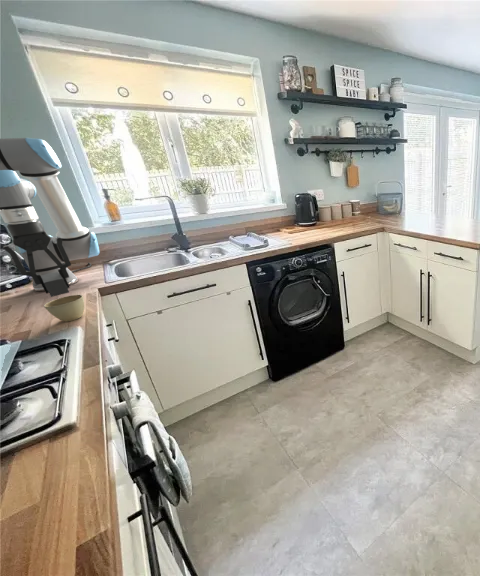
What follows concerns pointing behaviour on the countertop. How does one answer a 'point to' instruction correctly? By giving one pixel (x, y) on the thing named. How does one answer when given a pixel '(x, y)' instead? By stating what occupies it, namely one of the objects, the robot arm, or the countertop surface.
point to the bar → (54, 284)
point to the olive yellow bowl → (66, 307)
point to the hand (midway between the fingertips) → (57, 289)
